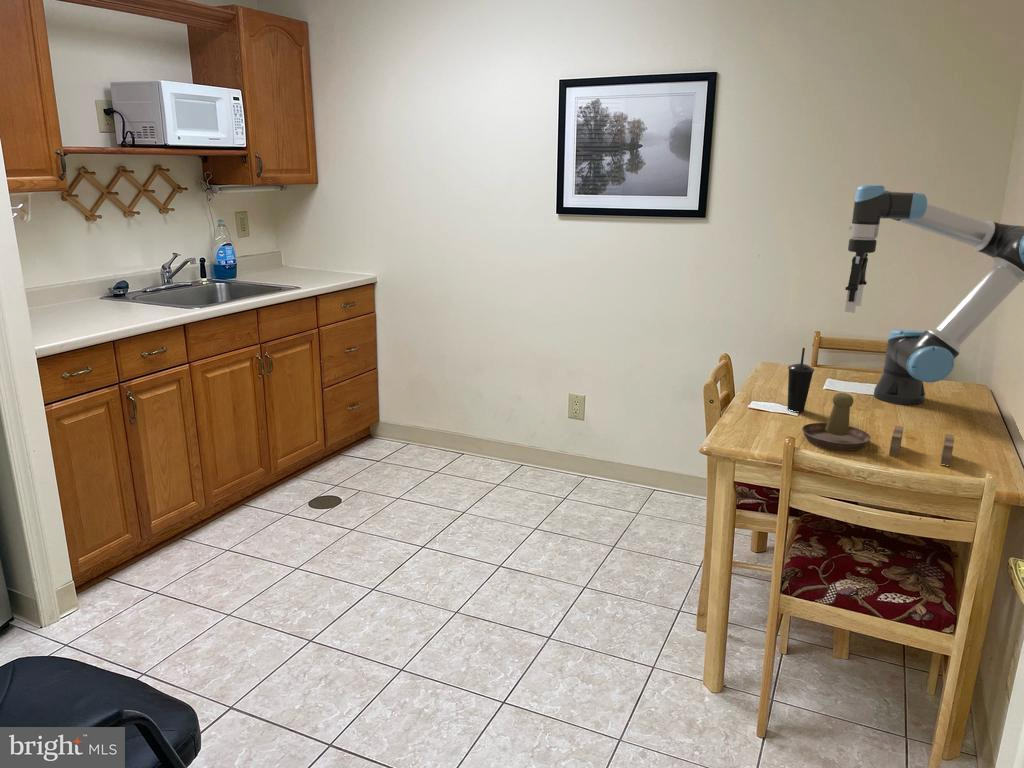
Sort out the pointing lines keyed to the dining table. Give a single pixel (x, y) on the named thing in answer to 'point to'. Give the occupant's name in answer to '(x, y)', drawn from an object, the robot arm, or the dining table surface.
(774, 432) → the dining table surface
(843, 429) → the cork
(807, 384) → the drinking cup
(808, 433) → the plant saucer
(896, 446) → the wooden bookends
